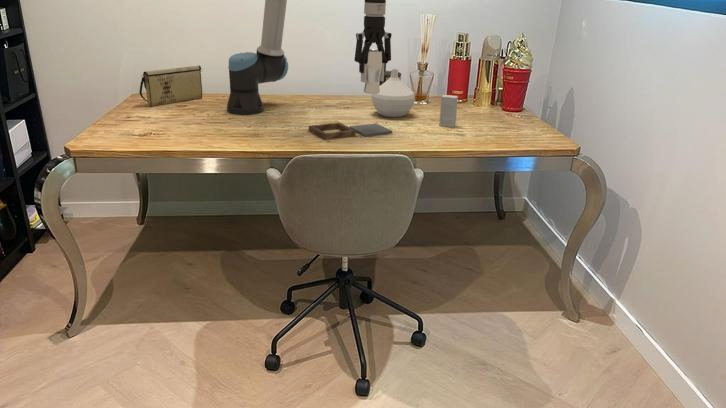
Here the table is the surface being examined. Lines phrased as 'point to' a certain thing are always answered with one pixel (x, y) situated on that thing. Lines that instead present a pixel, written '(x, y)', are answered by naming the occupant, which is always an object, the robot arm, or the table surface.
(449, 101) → the skincare box
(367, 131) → the slate pad
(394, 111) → the vase
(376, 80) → the beer glass
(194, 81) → the clutch purse
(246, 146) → the table surface
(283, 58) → the robot arm
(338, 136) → the frame
